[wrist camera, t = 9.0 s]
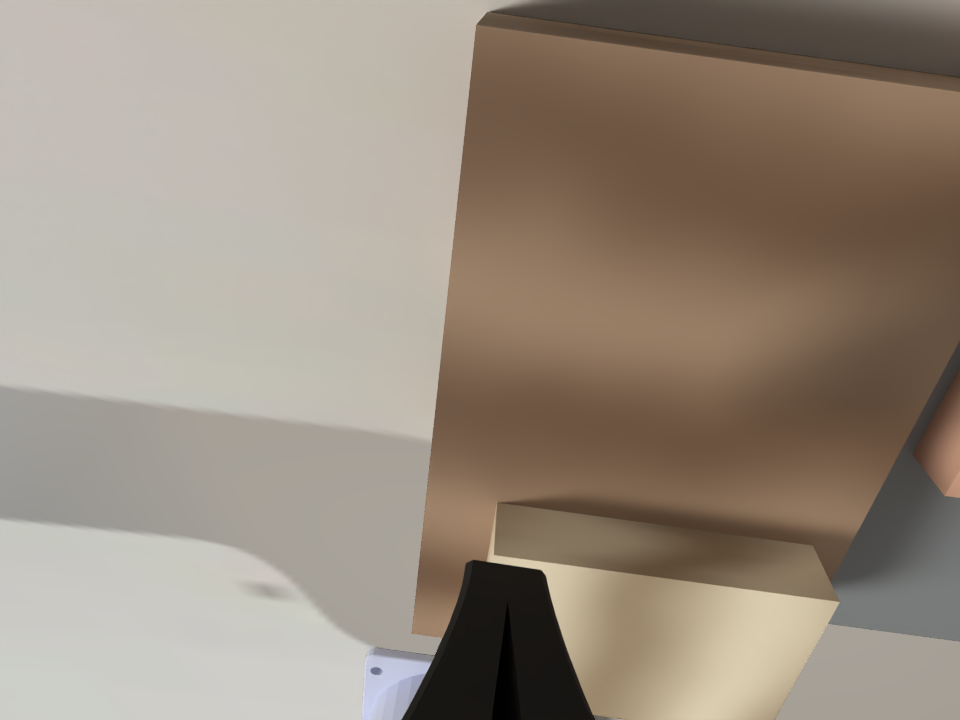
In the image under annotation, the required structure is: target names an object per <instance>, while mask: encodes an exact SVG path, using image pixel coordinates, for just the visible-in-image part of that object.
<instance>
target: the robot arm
mask: <svg viewBox="0 0 960 720" xmlns="http://www.w3.org/2000/svg"><path fill="white" fill-rule="evenodd" d="M362 720H595V718H594V716H593V714H592V712H591V709H590V707H589V704H588V702H587V700H586V697H585V695H584V692H583V690H582V687H581V685H580V682H579V680H578V677H577V674H576V672H575V669H574V667H573V664H572V661H571V659H570V656H569V653H568V651H567V648H566V645H565V642H564V639H563V636H562V633H561V630H560V627H559V624H558V621H557V617H556V614H555V610H554V607H553V603H552V600H551V596H550V592H549V588H548V583H547V578H546V575H545V574H544V573H543V571H542V570H539V569H532V568H526V567H519V566H512V565H506V564H499V563H492V562H486V561H479V560H471V561H469V562H467V563H466V564H465V570H464V576H463V581H462V586H461V590H460V593H459V597H458V600H457V603H456V606H455V608H454V611H453V614H452V616H451V619H450V622H449V624H448V627H447V629H446V631H445V634H444V636H443V638H442V641H441V643H440V645H439V647H438V650H437V652H436V654H435V656H433V655H426V654H419V653H410V652H403V651H396V650H389V649H382V648H374V649H371V650H369V651H368V653H367V656H366V660H365V675H364V693H363V710H362Z"/></svg>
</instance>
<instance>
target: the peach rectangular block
mask: <svg viewBox="0 0 960 720" xmlns="http://www.w3.org/2000/svg"><path fill="white" fill-rule="evenodd" d="M913 456H914V457H915V458H916V460H917V461H918V462H919V464H920V465H921V466H922V467H923V469H924V470H925V471H926V473H927V474H928V475H929V476H930V478H931V479H932V480H933V482H934V483H935V484H936V486H937V487H938V488H939V489H940V491H941V492H942V493H943V495H944V496H949V497H957V498H960V369H959V370H958V372H957V374H956V376H955V378H954V380H953V381H952V383H951V385H950V387H949V389H948V390H947V392H946V394H945V396H944V398H943V400H942V401H941V403H940V405H939V407H938V409H937V410H936V412H935V414H934V416H933V418H932V420H931V421H930V423H929V425H928V427H927V429H926V430H925V432H924V434H923V436H922V438H921V440H920V441H919V443H918V445H917V447H916V449H915V450H914V452H913Z"/></svg>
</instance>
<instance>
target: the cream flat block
mask: <svg viewBox="0 0 960 720" xmlns="http://www.w3.org/2000/svg"><path fill="white" fill-rule="evenodd" d="M487 562H492V563H499V564H506V565H512V566H519V567H526V568H532V569H539V570H542V571H543V573H544V574H545V575H546V578H547V583H548V588H549V592H550V596H551V600H552V603H553V607H554V610H555V614H556V617H557V621H558V624H559V627H560V630H561V633H562V636H563V639H564V642H565V645H566V648H567V651H568V653H569V656H570V659H571V661H572V664H573V667H574V669H575V672H576V674H577V677H578V680H579V682H580V685H581V687H582V690H583V692H584V695H585V697H586V700H587V702H588V704H589V707H590V709H591V712H592V714H593V715H596V716H603V717H611V718H618V719H626V720H775V718H776V716H777V714H778V712H779V711H780V709H781V707H782V705H783V704H784V702H785V700H786V698H787V696H788V695H789V693H790V691H791V689H792V687H793V685H794V684H795V682H796V680H797V678H798V677H799V675H800V673H801V671H802V669H803V667H804V666H805V664H806V662H807V660H808V659H809V656H810V655H811V653H812V651H813V650H814V648H815V646H816V644H817V642H818V641H819V639H820V637H821V635H822V633H823V632H824V630H825V628H826V626H827V624H828V623H829V621H830V619H831V617H832V615H833V614H834V612H835V610H836V608H837V606H838V605H839V603H840V601H839V599H838V597H837V595H836V593H835V591H834V589H833V587H832V585H831V582H830V580H829V578H828V576H827V574H826V572H825V570H824V568H823V566H822V564H821V562H820V560H819V557H818V555H817V553H816V551H815V549H814V547H813V545H806V544H798V543H791V542H783V541H776V540H769V539H761V538H754V537H747V536H739V535H732V534H725V533H717V532H710V531H702V530H695V529H688V528H680V527H673V526H666V525H658V524H651V523H644V522H636V521H629V520H621V519H614V518H607V517H599V516H592V515H585V514H577V513H570V512H563V511H555V510H548V509H540V508H533V507H526V506H518V505H511V504H504V503H497V505H496V511H495V517H494V522H493V528H492V534H491V540H490V545H489V551H488V557H487Z"/></svg>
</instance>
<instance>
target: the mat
mask: <svg viewBox="0 0 960 720" xmlns="http://www.w3.org/2000/svg"><path fill="white" fill-rule="evenodd" d="M959 369H960V341H959V343H958V345H957V347H956V348H955V350H954V352H953V354H952V356H951V358H950V360H949V362H948V363H947V365H946V367H945V369H944V371H943V373H942V375H941V377H940V378H939V380H938V382H937V384H936V386H935V388H934V390H933V392H932V393H931V395H930V397H929V399H928V401H927V403H926V405H925V407H924V408H923V410H922V412H921V414H920V416H919V418H918V420H917V421H916V423H915V425H914V427H913V429H912V431H911V433H910V435H909V436H908V438H907V440H906V442H905V444H904V446H903V448H902V450H901V451H900V453H899V455H898V457H897V459H896V461H895V463H894V465H893V466H892V468H891V470H890V472H889V474H888V476H887V478H886V480H885V481H884V483H883V485H882V487H881V489H880V491H879V493H878V494H877V496H876V498H875V500H874V502H873V504H872V506H871V508H870V509H869V511H868V513H867V515H866V517H865V519H864V521H863V523H862V524H861V526H860V528H859V530H858V532H857V534H856V536H855V538H854V539H853V541H852V543H851V545H850V547H849V549H848V551H847V553H846V554H845V556H844V558H843V560H842V562H841V564H840V566H839V567H838V569H837V571H836V573H835V575H834V577H833V579H832V581H831V585H832V587H833V589H834V591H835V593H836V595H837V597H838V599H839V601H840V603H839V605H838V606H837V608H836V610H835V612H834V614H833V615H832V617H831V619H830V621H829V623H828V624H834V625H842V626H849V627H856V628H864V629H871V630H879V631H886V632H894V633H901V634H908V635H916V636H923V637H930V638H937V639H945V640H952V641H960V498H957V497H949V496H944V495H943V493H942V492H941V491H940V489H939V488H938V487H937V486H936V484H935V483H934V482H933V480H932V479H931V478H930V476H929V475H928V474H927V473H926V471H925V470H924V469H923V467H922V466H921V465H920V464H919V462H918V461H917V460H916V458H915V457H914V456H913V452H914V450H915V449H916V447H917V445H918V443H919V441H920V440H921V438H922V436H923V434H924V432H925V430H926V429H927V427H928V425H929V423H930V421H931V420H932V418H933V416H934V414H935V412H936V410H937V409H938V407H939V405H940V403H941V401H942V400H943V398H944V396H945V394H946V392H947V390H948V389H949V387H950V385H951V383H952V381H953V380H954V378H955V376H956V374H957V372H958V370H959Z"/></svg>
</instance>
